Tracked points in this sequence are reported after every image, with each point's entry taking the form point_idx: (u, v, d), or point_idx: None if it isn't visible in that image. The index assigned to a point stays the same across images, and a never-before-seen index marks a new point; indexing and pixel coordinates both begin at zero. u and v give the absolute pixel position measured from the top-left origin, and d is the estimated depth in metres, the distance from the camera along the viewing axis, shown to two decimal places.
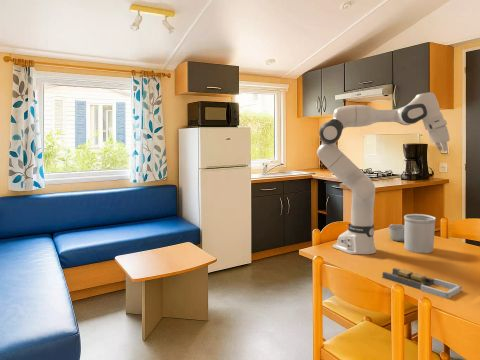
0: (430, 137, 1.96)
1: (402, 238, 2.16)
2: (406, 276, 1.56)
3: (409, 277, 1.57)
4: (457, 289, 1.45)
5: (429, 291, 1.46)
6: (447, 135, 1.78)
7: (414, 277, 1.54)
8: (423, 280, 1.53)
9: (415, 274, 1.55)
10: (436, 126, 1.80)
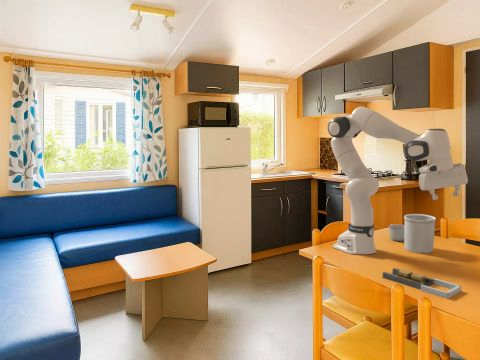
0: None
1: (402, 238, 2.16)
2: (406, 276, 1.56)
3: (409, 277, 1.57)
4: (457, 289, 1.45)
5: (429, 291, 1.46)
6: (423, 184, 1.62)
7: (414, 277, 1.54)
8: (423, 280, 1.53)
9: (415, 274, 1.55)
10: (420, 171, 1.65)
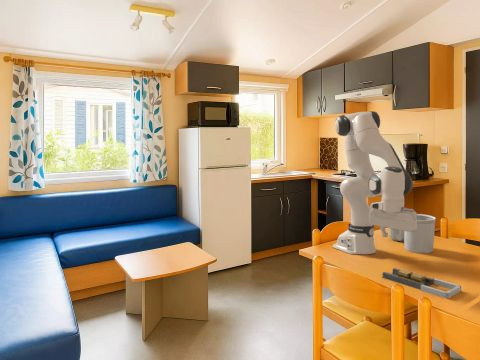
0: None
1: (402, 238, 2.16)
2: (406, 276, 1.56)
3: (409, 277, 1.57)
4: (457, 289, 1.45)
5: (429, 291, 1.46)
6: None
7: (414, 277, 1.54)
8: (423, 280, 1.53)
9: (415, 274, 1.55)
10: None
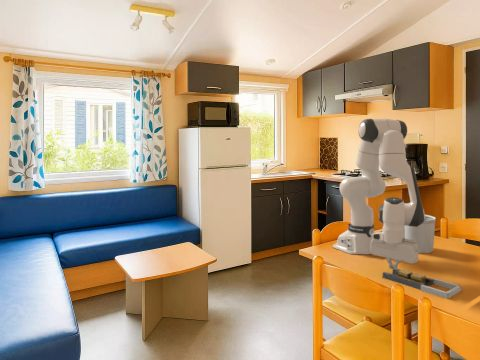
0: None
1: None
2: (406, 276, 1.56)
3: (409, 277, 1.57)
4: (457, 289, 1.45)
5: (429, 291, 1.46)
6: None
7: (414, 277, 1.54)
8: (423, 280, 1.53)
9: (415, 274, 1.55)
10: None
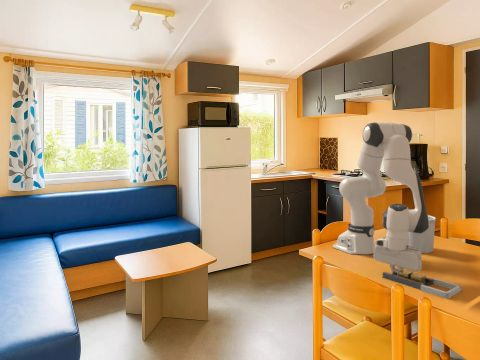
0: None
1: None
2: (407, 276, 1.56)
3: (410, 277, 1.57)
4: (457, 289, 1.45)
5: (429, 291, 1.46)
6: None
7: (414, 277, 1.54)
8: (423, 280, 1.53)
9: (415, 274, 1.55)
10: None
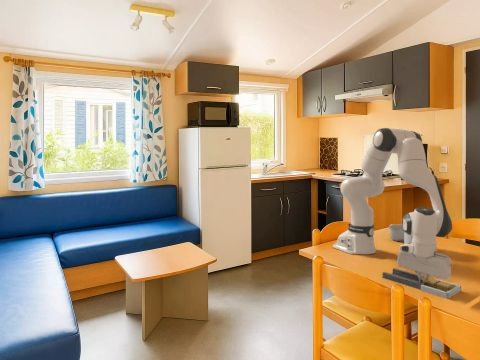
0: None
1: (402, 238, 2.16)
2: (432, 285, 1.48)
3: (435, 286, 1.49)
4: (457, 289, 1.45)
5: (429, 291, 1.46)
6: None
7: (440, 286, 1.45)
8: (449, 289, 1.45)
9: (441, 282, 1.47)
10: None
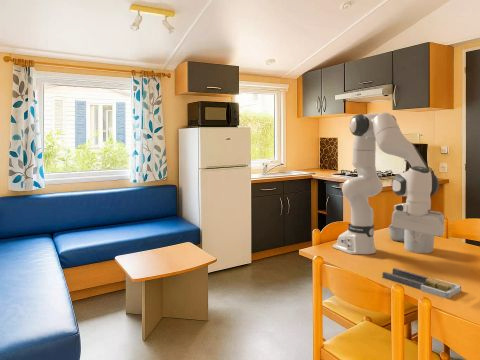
0: None
1: (402, 238, 2.16)
2: (434, 286, 1.47)
3: None
4: (457, 289, 1.45)
5: (429, 291, 1.46)
6: None
7: (440, 286, 1.45)
8: (449, 289, 1.45)
9: (441, 282, 1.47)
10: None
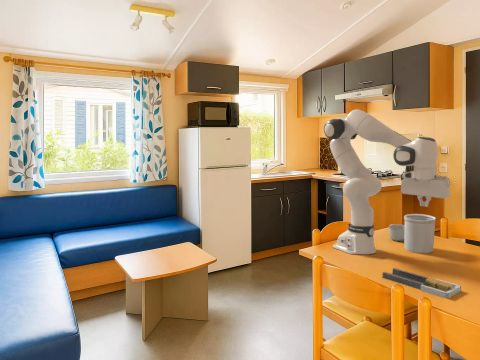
0: None
1: (402, 238, 2.16)
2: (434, 286, 1.47)
3: None
4: (457, 289, 1.45)
5: (429, 291, 1.46)
6: None
7: (440, 286, 1.45)
8: (449, 289, 1.45)
9: (441, 282, 1.47)
10: None
